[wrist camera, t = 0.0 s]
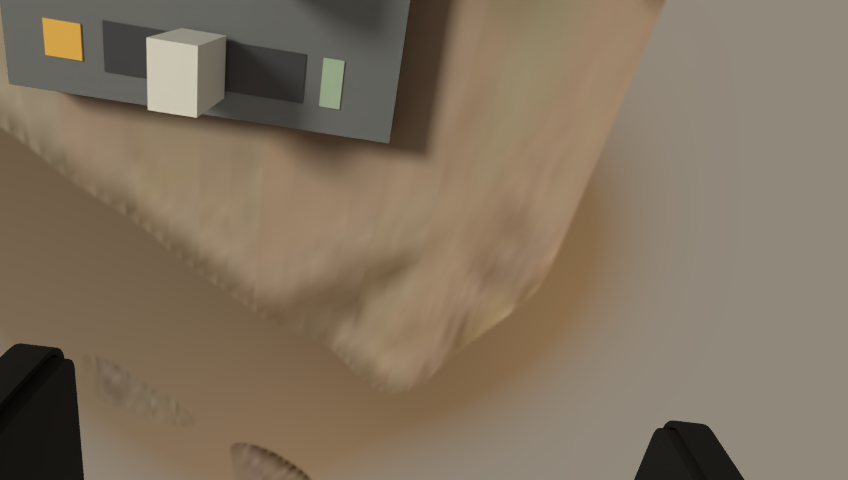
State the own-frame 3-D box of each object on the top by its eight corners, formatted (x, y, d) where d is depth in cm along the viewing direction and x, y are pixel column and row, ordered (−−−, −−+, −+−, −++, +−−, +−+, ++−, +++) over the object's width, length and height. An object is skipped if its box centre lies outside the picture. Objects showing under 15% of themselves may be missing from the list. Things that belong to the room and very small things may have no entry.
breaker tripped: (182, 27, 33) (146, 37, 28) (226, 35, 33) (197, 45, 29) (181, 91, 34) (147, 109, 30) (224, 98, 35) (196, 117, 30)
